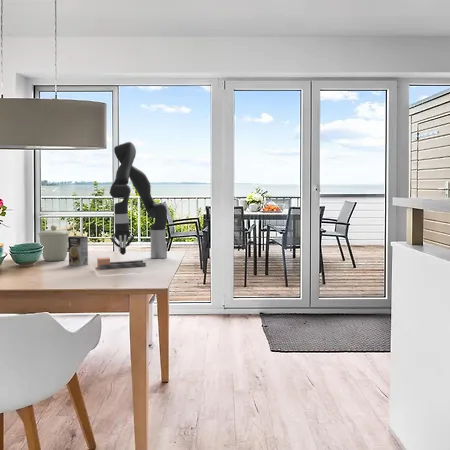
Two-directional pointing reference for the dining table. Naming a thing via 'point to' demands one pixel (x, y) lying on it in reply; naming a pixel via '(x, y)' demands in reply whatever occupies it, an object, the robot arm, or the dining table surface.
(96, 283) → the dining table surface
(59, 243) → the canister
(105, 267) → the chute
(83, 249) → the coffee box
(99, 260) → the block
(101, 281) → the dining table surface
